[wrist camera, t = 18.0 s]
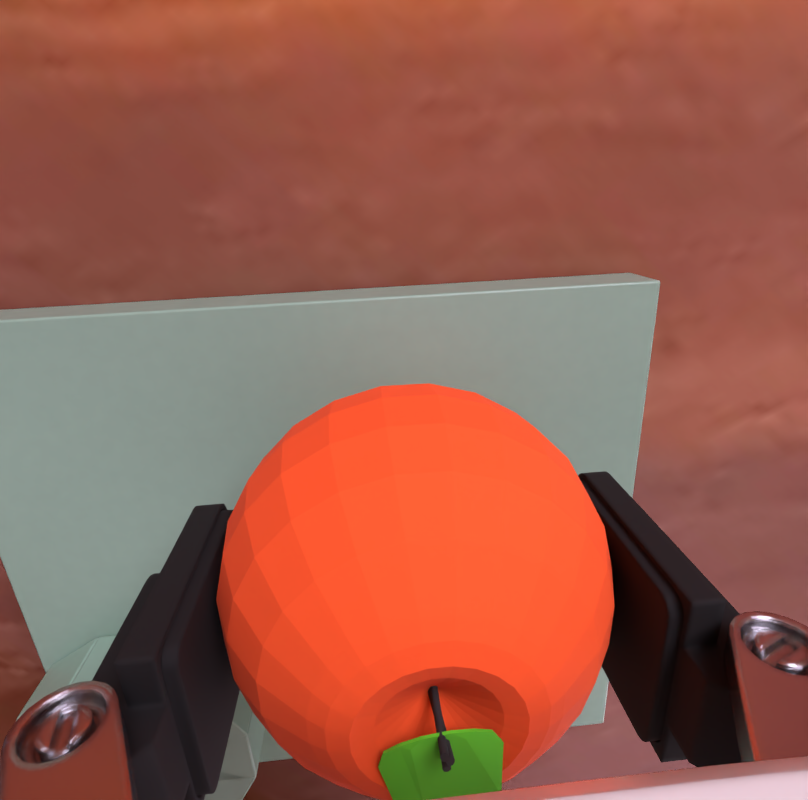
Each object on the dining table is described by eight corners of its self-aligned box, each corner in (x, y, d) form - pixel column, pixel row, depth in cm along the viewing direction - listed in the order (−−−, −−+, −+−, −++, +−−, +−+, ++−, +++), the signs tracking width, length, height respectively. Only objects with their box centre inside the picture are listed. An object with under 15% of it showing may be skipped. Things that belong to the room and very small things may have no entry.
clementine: (547, 594, 15) (703, 916, 8) (302, 641, 15) (259, 1008, 8) (526, 315, 12) (745, 465, 5) (220, 370, 12) (41, 596, 5)
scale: (94, 752, 17) (44, 858, 15) (-69, 313, 12) (-197, 347, 9) (584, 697, 18) (625, 787, 16) (631, 272, 13) (705, 292, 10)
